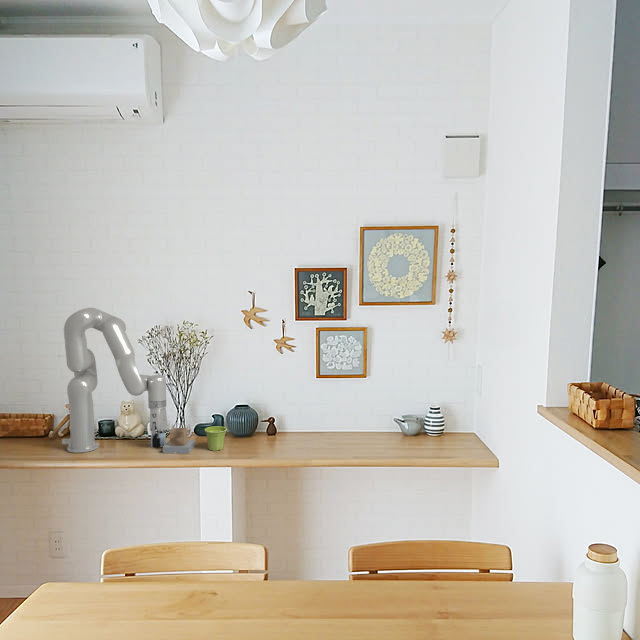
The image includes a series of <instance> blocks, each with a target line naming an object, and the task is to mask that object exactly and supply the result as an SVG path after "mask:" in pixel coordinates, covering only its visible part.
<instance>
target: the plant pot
mask: <svg viewBox="0 0 640 640" xmlns="http://www.w3.org/2000/svg"><path fill="white" fill-rule="evenodd" d="M227 430H228V428H227V427H225V426H220V425H219V426H218V425H217V426H208V427H206V428H204V431H205V434H206V438H207V447H208V450H209V451H211V450H212V451H211V452H217V451H222V450H223V449H224V445H225V444H224V443H225V436H226V433H227Z"/></svg>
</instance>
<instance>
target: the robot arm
mask: <svg viewBox="0 0 640 640" xmlns="http://www.w3.org/2000/svg"><path fill="white" fill-rule="evenodd" d="M90 328H92V329H94V330H96V331H99V332H102V336H103V337H104V339H105V341H106V344H107V346H108V348H109V350H110V351H111V354H112V356H113V358H114V362H115V365H116V367H117V372H118V374H119V377H120V379H121V381H122V384H123V385H124V387H125V389H126V391H127V392H128V393H129V394H130V395H131V396H134V397H137V396H141V395H142V394H144V393H145V392H146V391H147V399H148V400H147V404H148V407H147V408H148V409H149V410H150V411H149V430H150V432H151V433H150V434H151V436H152V447H160V438H159V433H165V429H166V428H167V426H168V419H167V418H168V417H167V381H166V377H165V376H164V375H161V374H157V375H156V374H153V375H149V374H140V373H139V370H138V368H137V364H136V360H135V356H136V355H135V349H134V348H133V346H132V343H131V342H130V341H131V340H130V339H129V338H128V337H129V336H128V335H127V333H126V330H127V326H126V323H125V321H124V320H123V319H121V318H119V317H116V316H115V315H113V314H110V313H107V312H105V311H103V310H100V309H98V308H94V307H86V308H82V309H79V310H77V311H75V312H73V313H72V314H71V315H70V316H69V317H67V319H66V320H65V322H64V325H63V337H64V346H65V347H64V348H65V357H66V358H65V359H66V366H67V368H68V370H69V371H71V372H72V373H73V374H74V377H73V378H71V379H70V381H69V382H68V384H67V387H66V390H67V392H66V393H67V398H68V399H67V401H68V409H69V432H70V433H69V434H70V437H69V438H62V439H61V444H62V445H67V446H66V451H67V452H69V453H75V454H76V453H77V454H78V453H80V454H81V453H87V452H91V451H95V450H97V449H99V443H98V442H95V439H96V436H95V411H94V400H93V392H94V391H95V390H96V388H97V386H98V381H99V380H98V372H97V371H98V370H97V363H96V356H95V354H94V353H93V351H92V350H91V349H90V348H88V343H87V336H86V332H87V331H86V330H88V329H90Z"/></svg>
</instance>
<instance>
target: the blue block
mask: <svg viewBox="0 0 640 640" xmlns="http://www.w3.org/2000/svg"><path fill="white" fill-rule="evenodd" d="M166 435H167V434H166V433H165V432H164V433H159V438H160V447H163V446H164V445H166V443H167V441H166V439H167V438H166V437H167V436H166ZM151 447H152V435H150V448H151Z"/></svg>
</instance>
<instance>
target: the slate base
mask: <svg viewBox="0 0 640 640" xmlns="http://www.w3.org/2000/svg"><path fill="white" fill-rule="evenodd" d="M194 446H195V447H196V440H195V439H188V442H187V443H186V444H185V446H170V439H169V440H168V441H166V444H165V446H164V447H163V448H162V454H190V453H191V452H192V450H193V449H194V448H195V447H194ZM193 447H194V448H193ZM190 451H191V452H190ZM174 452H176V453H174ZM178 452H179V453H178ZM189 452H190V453H189Z"/></svg>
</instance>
